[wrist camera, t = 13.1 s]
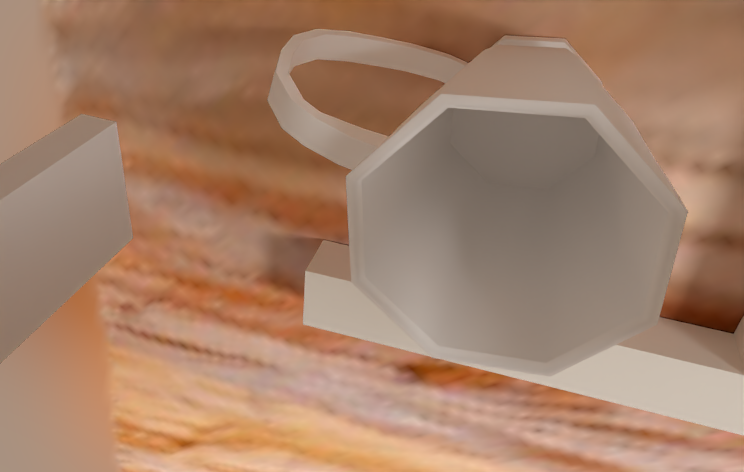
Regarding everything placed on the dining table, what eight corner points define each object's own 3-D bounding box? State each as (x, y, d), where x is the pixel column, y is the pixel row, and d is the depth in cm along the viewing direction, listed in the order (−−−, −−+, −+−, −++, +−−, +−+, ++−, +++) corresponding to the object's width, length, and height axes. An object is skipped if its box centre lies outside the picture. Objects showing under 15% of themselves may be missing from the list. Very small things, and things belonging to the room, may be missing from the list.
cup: (571, 239, 22) (567, 424, 16) (299, 110, 22) (181, 240, 16) (707, 50, 18) (780, 194, 11) (373, -110, 18) (254, -57, 11)
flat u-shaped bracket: (370, -536, 14) (341, -581, 12) (1638, -496, 10) (1833, -550, 9) (320, 291, 26) (302, 324, 24) (888, 429, 23) (911, 477, 21)
